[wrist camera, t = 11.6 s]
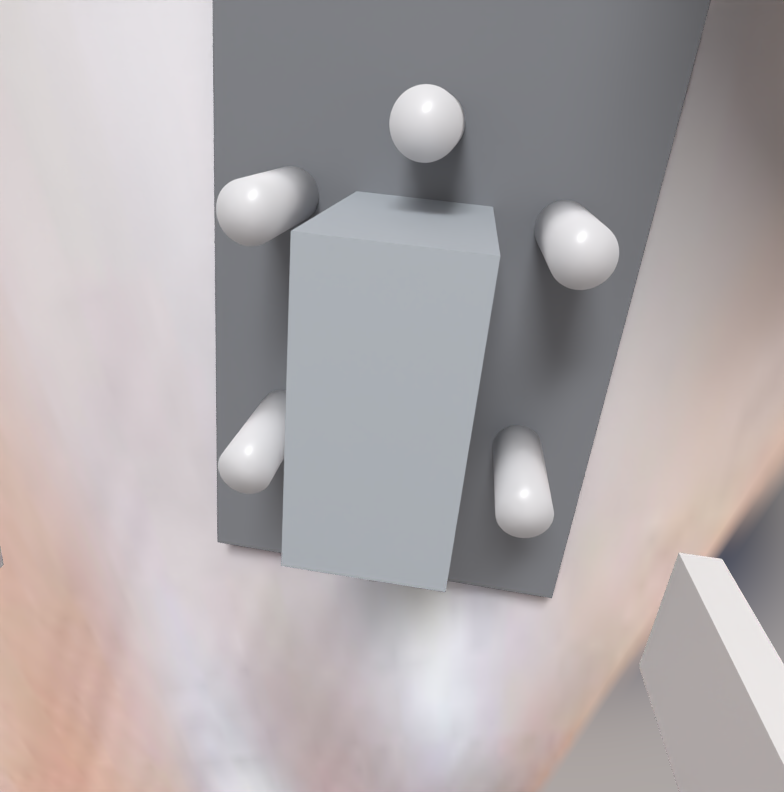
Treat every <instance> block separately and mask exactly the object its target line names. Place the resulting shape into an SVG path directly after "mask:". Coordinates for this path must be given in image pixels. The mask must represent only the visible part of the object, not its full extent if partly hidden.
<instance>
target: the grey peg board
mask: <svg viewBox="0 0 784 792" xmlns="http://www.w3.org/2000/svg"><path fill="white" fill-rule="evenodd" d="M710 1H711V0H213V92H214V203H215V314H216V425H217V536H218V542H220V543H226V544H232V545H238V546H244V547H250V548H256V549H262V550H268V551H273V552H279V553H282V522H283V487H284V451H285V416H286V381H287V346H288V311H289V276H290V240H291V230H293V229H295V228H296V227H298V226H300V225H301V224H303V223H305V222H306V221H308V220H310V219H311V218H313V217H315V216H316V215H318V214H320V213H321V212H323V211H325V210H326V209H328V208H330V207H331V206H333V205H335V204H336V203H338V202H340V201H341V200H343V199H345V198H346V197H348V196H350V195H351V194H353V193H355V192H356V191H359V192H368V193H377V194H385V195H394V196H403V197H412V198H421V199H429V200H438V201H447V202H456V203H465V204H474V205H482V206H491V207H493V210H494V217H495V224H496V230H497V237H498V243H499V250H500V261H499V268H498V274H497V280H496V286H495V292H494V298H493V304H492V310H491V317H490V323H489V329H488V335H487V341H486V347H485V353H484V360H483V366H482V372H481V378H480V384H479V390H478V396H477V402H476V409H475V415H474V421H473V427H472V433H471V439H470V445H469V451H468V458H467V464H466V470H465V476H464V482H463V488H462V494H461V501H460V507H459V513H458V519H457V525H456V531H455V537H454V543H453V550H452V556H451V562H450V568H449V574H448V580H447V581H453V582H459V583H464V584H470V585H476V586H482V587H488V588H494V589H500V590H506V591H512V592H518V593H524V594H530V595H536V596H542V597H548V598H552V596H553V592H554V588H555V584H556V580H557V577H558V573H559V569H560V565H561V562H562V558H563V554H564V550H565V547H566V543H567V539H568V535H569V532H570V528H571V524H572V520H573V517H574V513H575V509H576V505H577V501H578V498H579V494H580V490H581V486H582V483H583V479H584V475H585V471H586V468H587V464H588V460H589V456H590V453H591V449H592V445H593V441H594V438H595V434H596V430H597V426H598V422H599V419H600V415H601V411H602V407H603V404H604V400H605V396H606V392H607V389H608V385H609V381H610V377H611V374H612V370H613V366H614V362H615V359H616V355H617V351H618V347H619V344H620V340H621V336H622V332H623V328H624V325H625V321H626V317H627V313H628V310H629V306H630V302H631V298H632V295H633V291H634V287H635V283H636V280H637V276H638V272H639V268H640V265H641V261H642V257H643V253H644V249H645V246H646V242H647V238H648V234H649V231H650V227H651V223H652V219H653V216H654V212H655V208H656V204H657V201H658V197H659V193H660V189H661V186H662V182H663V178H664V174H665V170H666V167H667V163H668V159H669V155H670V152H671V148H672V144H673V140H674V137H675V133H676V129H677V125H678V122H679V118H680V114H681V110H682V107H683V103H684V99H685V95H686V92H687V88H688V84H689V80H690V76H691V73H692V69H693V65H694V61H695V58H696V54H697V50H698V46H699V43H700V39H701V35H702V31H703V28H704V24H705V20H706V16H707V13H708V9H709V5H710ZM370 581H373V580H370Z"/></svg>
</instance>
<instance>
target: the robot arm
mask: <svg viewBox="0 0 784 792" xmlns="http://www.w3.org/2000/svg"><path fill="white" fill-rule="evenodd" d="M3 565H4V564H3V559H2V553H1V547H0V568H1V567H2V566H3ZM639 668H640V671H641V674H642V677H643V680H644V683H645V686H646V689H647V692H648V696H649V699H650V702H651V705H652V708H653V711H654V715H655V718H656V721H657V724H658V727H659V730H660V733H661V736H662V740H663V743H664V746H665V749H666V752H667V755H668V758H669V761H670V764H671V768H672V771H673V774H674V777H675V780H676V783H677V787H678V789H679V792H784V664H783V663H782V661H781V659H780V657H779V656H778V654H777V652H776V650H775V649H774V647H773V645H772V644H771V642H770V640H769V638H768V637H767V635H766V633H765V632H764V630H763V628H762V626H761V625H760V623H759V621H758V620H757V618H756V616H755V615H754V613H753V611H752V609H751V608H750V606H749V604H748V603H747V601H746V599H745V597H744V596H743V594H742V592H741V591H740V589H739V587H738V586H737V584H736V582H735V580H734V579H733V577H732V575H731V574H730V572H729V570H728V568H727V567H726V565H725V563H724V562H723V560H722V559H718V558H711V557H705V556H698V555H691V554H685V553H679V554H678V556H677V559H676V562H675V565H674V568H673V571H672V573H671V576H670V579H669V582H668V585H667V588H666V590H665V593H664V596H663V599H662V602H661V604H660V607H659V610H658V613H657V616H656V619H655V621H654V624H653V627H652V630H651V633H650V636H649V638H648V641H647V644H646V647H645V650H644V653H643V655H642V658H641V661H640V664H639Z"/></svg>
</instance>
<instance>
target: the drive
mask: <svg viewBox="0 0 784 792" xmlns="http://www.w3.org/2000/svg"><path fill="white" fill-rule="evenodd" d="M499 261H500V250H499V243H498V237H497V230H496V224H495V217H494V210H493V207H491V206H482V205H474V204H465V203H456V202H447V201H438V200H429V199H421V198H412V197H403V196H394V195H385V194H377V193H368V192H359V191H356V192H355V193H353V194H351V195H350V196H348V197H346V198H345V199H343V200H341V201H340V202H338V203H336V204H335V205H333V206H331V207H330V208H328V209H326V210H325V211H323V212H321V213H320V214H318V215H316V216H315V217H313V218H311V219H310V220H308V221H306V222H305V223H303V224H301V225H300V226H298V227H296V228H295V229H293V230H291V240H290V276H289V311H288V346H287V381H286V416H285V451H284V487H283V522H282V557H281V566H285V567H291V568H298V569H304V570H310V571H316V572H323V573H329V574H335V575H341V576H348V577H354V578H360V579H366V580H373V581H379V582H385V583H391V584H398V585H404V586H410V587H416V588H423V589H429V590H435V591H441V592H446V586H447V580H448V574H449V568H450V562H451V556H452V550H453V543H454V537H455V531H456V525H457V519H458V513H459V507H460V501H461V494H462V488H463V482H464V476H465V470H466V464H467V458H468V451H469V445H470V439H471V433H472V427H473V421H474V415H475V409H476V402H477V396H478V390H479V384H480V378H481V372H482V366H483V360H484V353H485V347H486V341H487V335H488V329H489V323H490V317H491V310H492V304H493V298H494V292H495V286H496V280H497V274H498V268H499Z"/></svg>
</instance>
